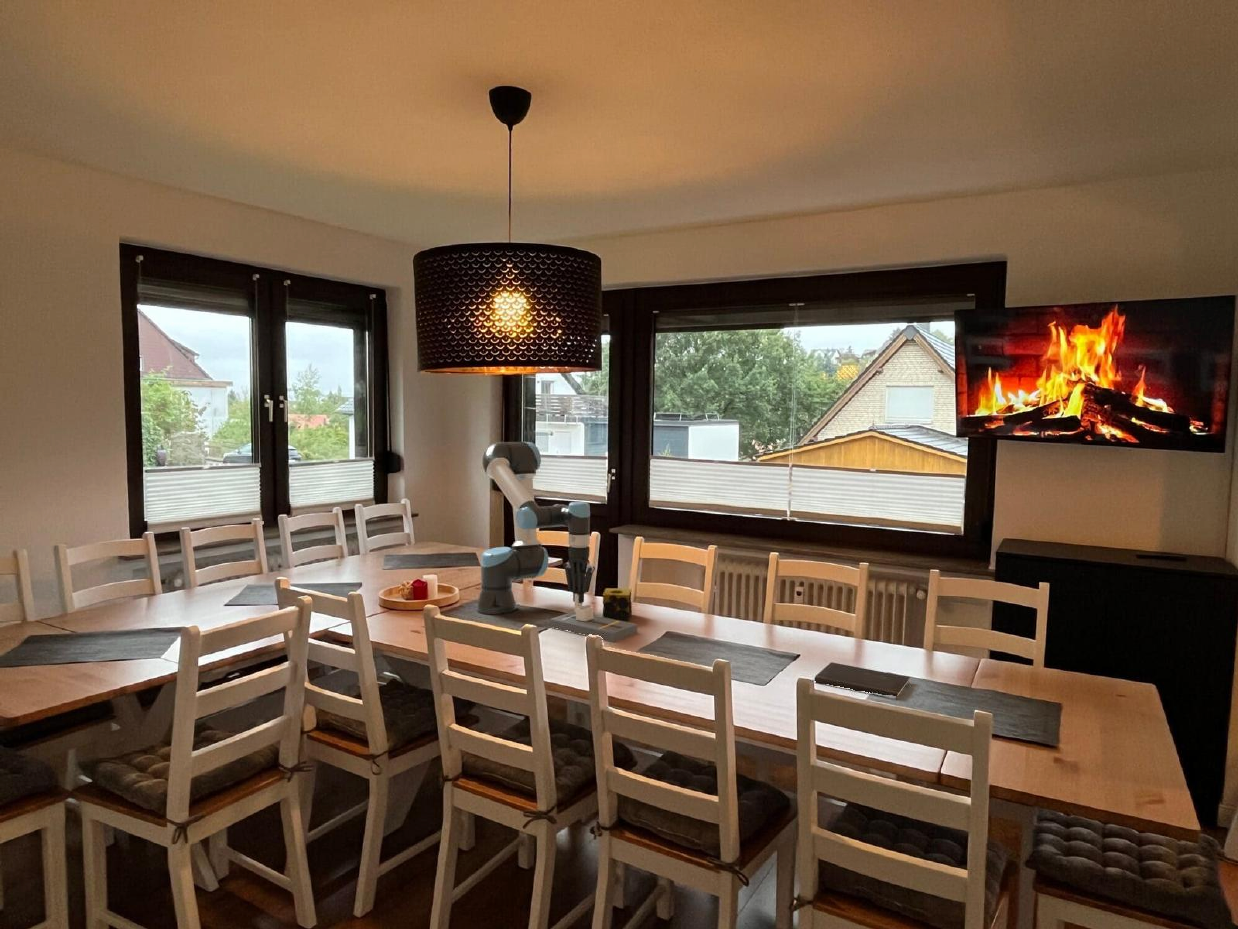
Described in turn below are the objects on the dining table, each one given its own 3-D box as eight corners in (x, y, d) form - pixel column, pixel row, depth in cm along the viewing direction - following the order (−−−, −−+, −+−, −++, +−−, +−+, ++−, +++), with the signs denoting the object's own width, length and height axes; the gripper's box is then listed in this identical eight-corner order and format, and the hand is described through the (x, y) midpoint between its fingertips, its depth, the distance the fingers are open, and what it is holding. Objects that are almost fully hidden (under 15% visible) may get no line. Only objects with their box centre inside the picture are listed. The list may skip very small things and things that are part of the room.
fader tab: (575, 619, 272) (576, 606, 272) (584, 616, 277) (584, 604, 276) (584, 621, 270) (584, 608, 270) (593, 618, 274) (593, 605, 274)
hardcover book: (830, 669, 236) (831, 662, 236) (909, 684, 224) (909, 677, 223) (814, 684, 222) (814, 676, 222) (896, 701, 210) (897, 693, 210)
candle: (631, 614, 293) (632, 588, 292) (629, 621, 283) (630, 595, 282) (605, 613, 294) (605, 587, 293) (602, 620, 284) (602, 594, 283)
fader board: (549, 627, 274) (549, 618, 274) (574, 619, 285) (574, 610, 285) (613, 642, 258) (613, 633, 257) (637, 632, 269) (637, 624, 269)
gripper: (558, 545, 274) (557, 610, 275) (587, 549, 266) (586, 616, 268) (571, 542, 280) (570, 606, 281) (600, 546, 272) (599, 612, 274)
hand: (578, 611), depth 275 cm, fingers closed
